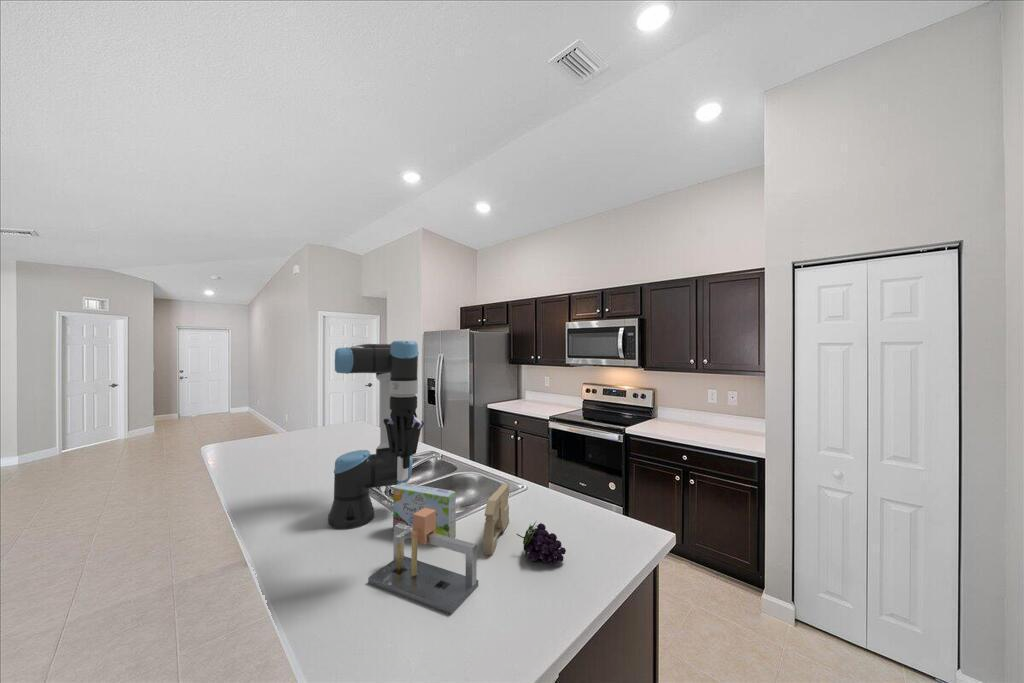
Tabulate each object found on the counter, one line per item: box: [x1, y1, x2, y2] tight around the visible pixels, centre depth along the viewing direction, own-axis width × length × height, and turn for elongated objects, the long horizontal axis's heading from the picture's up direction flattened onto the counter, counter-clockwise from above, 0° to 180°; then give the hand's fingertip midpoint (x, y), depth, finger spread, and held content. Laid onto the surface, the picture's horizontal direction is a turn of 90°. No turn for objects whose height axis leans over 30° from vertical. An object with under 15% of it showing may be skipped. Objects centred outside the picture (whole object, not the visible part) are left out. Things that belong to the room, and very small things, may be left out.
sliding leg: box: [411, 508, 436, 576], centre depth 102 cm, size 4×7×15 cm, turn 154°
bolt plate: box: [367, 555, 479, 616], centre depth 97 cm, size 26×12×2 cm, turn 64°
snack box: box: [392, 482, 457, 538], centre depth 124 cm, size 21×6×15 cm, turn 70°
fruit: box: [516, 521, 567, 565], centre depth 110 cm, size 10×11×15 cm
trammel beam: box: [392, 523, 478, 586], centre depth 99 cm, size 26×6×11 cm, turn 64°
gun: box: [482, 483, 510, 556], centre depth 123 cm, size 24×3×15 cm, turn 168°
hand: (402, 479), depth 106 cm, fingers closed
